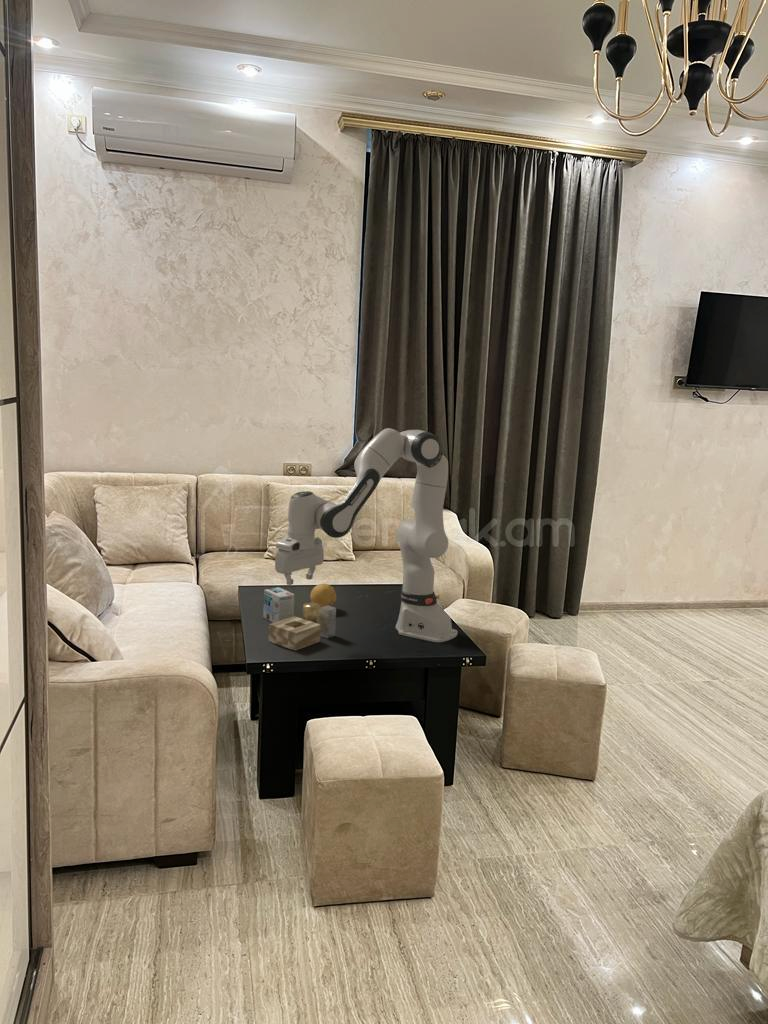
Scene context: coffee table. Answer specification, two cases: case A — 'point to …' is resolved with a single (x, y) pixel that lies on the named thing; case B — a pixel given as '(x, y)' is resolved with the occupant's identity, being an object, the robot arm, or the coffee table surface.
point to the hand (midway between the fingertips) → (299, 581)
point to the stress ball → (323, 595)
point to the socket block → (294, 633)
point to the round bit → (311, 612)
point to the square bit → (327, 621)
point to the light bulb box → (278, 604)
